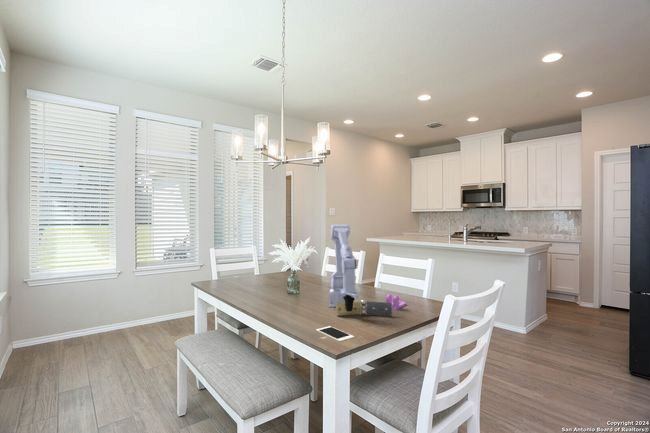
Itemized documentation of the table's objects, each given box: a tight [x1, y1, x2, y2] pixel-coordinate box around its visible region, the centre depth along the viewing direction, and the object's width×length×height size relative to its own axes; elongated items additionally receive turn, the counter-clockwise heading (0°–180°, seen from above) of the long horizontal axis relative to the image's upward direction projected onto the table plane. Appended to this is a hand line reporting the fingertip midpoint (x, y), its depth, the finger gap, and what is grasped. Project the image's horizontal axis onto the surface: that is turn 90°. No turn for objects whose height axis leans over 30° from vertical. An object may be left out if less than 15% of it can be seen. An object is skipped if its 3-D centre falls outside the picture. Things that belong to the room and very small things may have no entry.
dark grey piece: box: [360, 299, 393, 317], centre depth 157 cm, size 15×2×7 cm, turn 77°
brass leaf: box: [336, 300, 367, 317], centre depth 158 cm, size 15×2×6 cm, turn 101°
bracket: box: [385, 293, 406, 311], centre depth 174 cm, size 13×6×7 cm, turn 139°
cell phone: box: [315, 325, 355, 342], centre depth 133 cm, size 8×16×1 cm, turn 37°
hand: (349, 310), depth 156 cm, fingers closed, pressing on brass leaf
